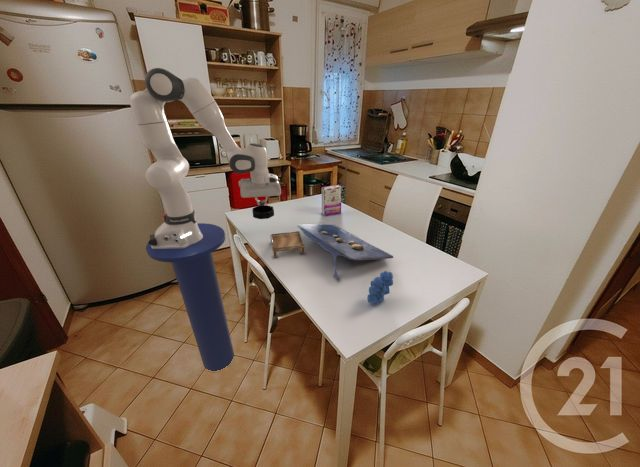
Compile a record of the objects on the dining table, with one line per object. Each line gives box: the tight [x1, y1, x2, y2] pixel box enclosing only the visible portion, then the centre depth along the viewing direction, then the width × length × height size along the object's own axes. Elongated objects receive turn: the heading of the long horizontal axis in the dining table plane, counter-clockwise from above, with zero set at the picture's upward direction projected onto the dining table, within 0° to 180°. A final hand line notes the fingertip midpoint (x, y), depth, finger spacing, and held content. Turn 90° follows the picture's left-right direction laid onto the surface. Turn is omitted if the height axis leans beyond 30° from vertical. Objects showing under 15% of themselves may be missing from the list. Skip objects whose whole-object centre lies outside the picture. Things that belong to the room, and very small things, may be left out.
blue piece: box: [296, 223, 394, 280], centre depth 121 cm, size 45×27×12 cm, turn 34°
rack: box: [269, 230, 306, 259], centre depth 121 cm, size 14×14×5 cm
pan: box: [251, 199, 275, 220], centre depth 131 cm, size 10×19×3 cm, turn 14°
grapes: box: [366, 270, 394, 306], centre depth 89 cm, size 12×7×12 cm, turn 129°
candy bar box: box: [321, 184, 343, 217], centre depth 155 cm, size 11×5×16 cm, turn 113°
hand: (262, 204), depth 136 cm, fingers closed on pan, 2 cm apart
